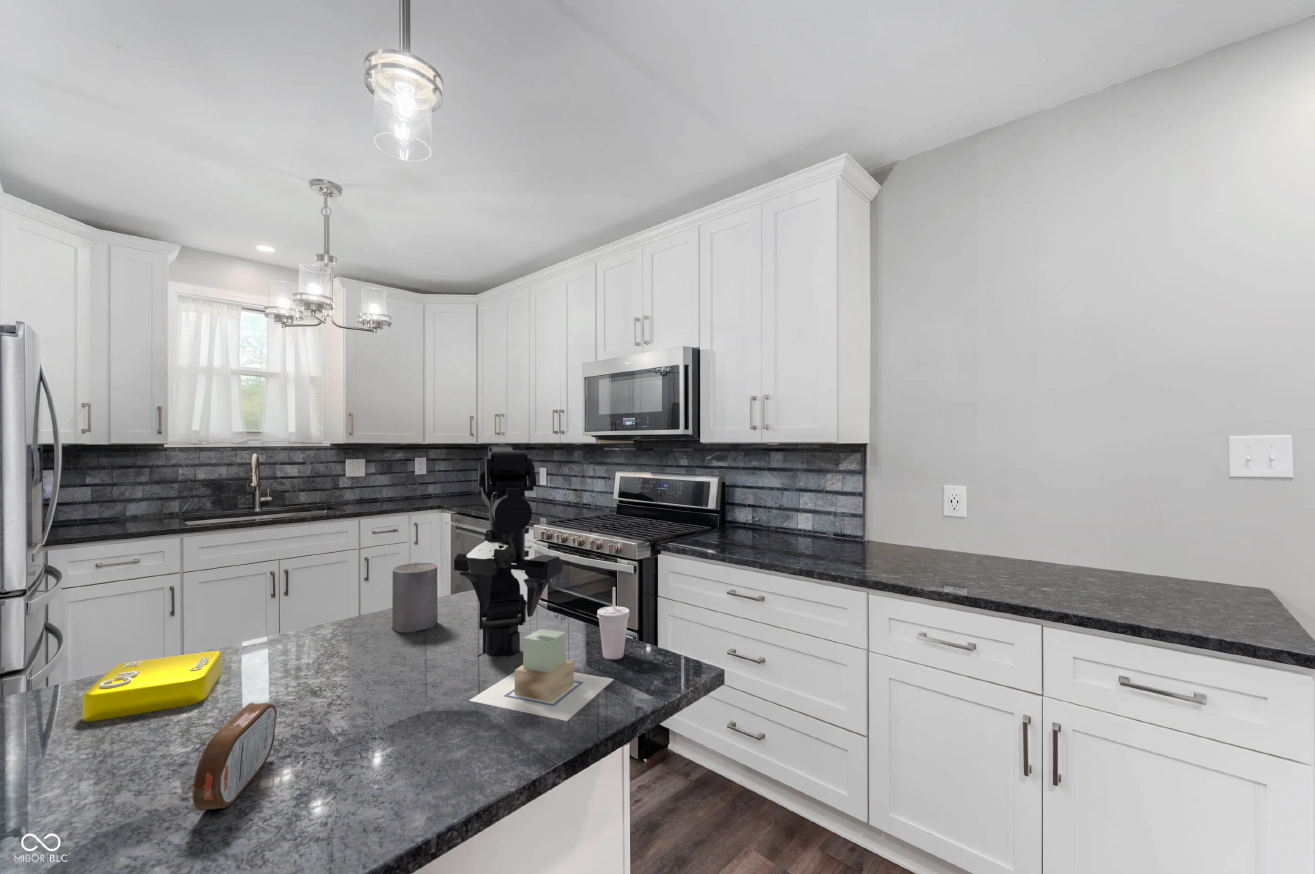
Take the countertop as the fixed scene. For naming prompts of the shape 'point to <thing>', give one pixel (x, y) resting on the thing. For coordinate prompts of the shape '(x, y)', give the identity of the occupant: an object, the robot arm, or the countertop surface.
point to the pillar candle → (414, 597)
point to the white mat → (558, 708)
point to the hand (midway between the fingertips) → (507, 613)
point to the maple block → (544, 682)
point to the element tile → (152, 685)
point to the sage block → (544, 650)
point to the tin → (234, 756)
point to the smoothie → (613, 629)
